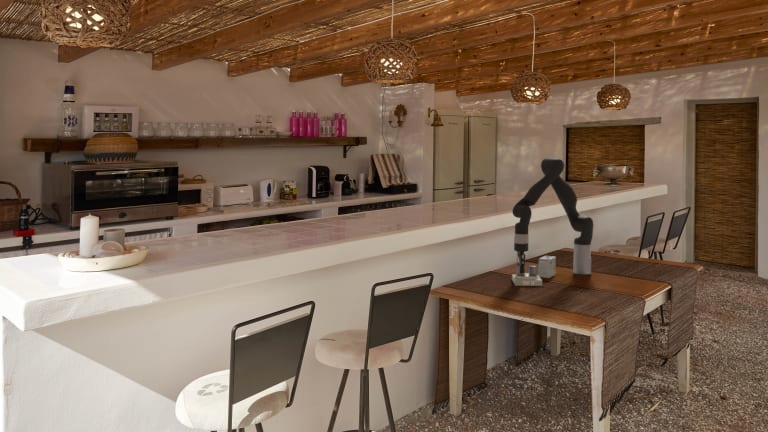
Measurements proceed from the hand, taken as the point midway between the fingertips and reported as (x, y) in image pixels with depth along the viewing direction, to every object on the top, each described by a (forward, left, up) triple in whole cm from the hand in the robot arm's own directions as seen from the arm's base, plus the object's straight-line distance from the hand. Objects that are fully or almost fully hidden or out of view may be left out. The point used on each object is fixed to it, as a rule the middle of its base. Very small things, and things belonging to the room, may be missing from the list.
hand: (520, 271), depth 319 cm
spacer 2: (-6, 0, -2) cm, 7 cm away
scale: (-3, 0, -6) cm, 7 cm away
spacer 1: (0, 0, -2) cm, 2 cm away
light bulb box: (-17, -18, -6) cm, 26 cm away
